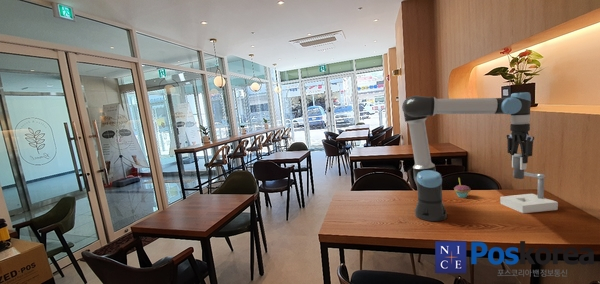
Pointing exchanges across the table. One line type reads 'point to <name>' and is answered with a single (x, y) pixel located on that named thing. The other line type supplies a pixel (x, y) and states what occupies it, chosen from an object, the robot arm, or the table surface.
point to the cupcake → (462, 190)
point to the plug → (518, 167)
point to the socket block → (530, 201)
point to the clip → (533, 175)
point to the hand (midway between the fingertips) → (519, 168)
